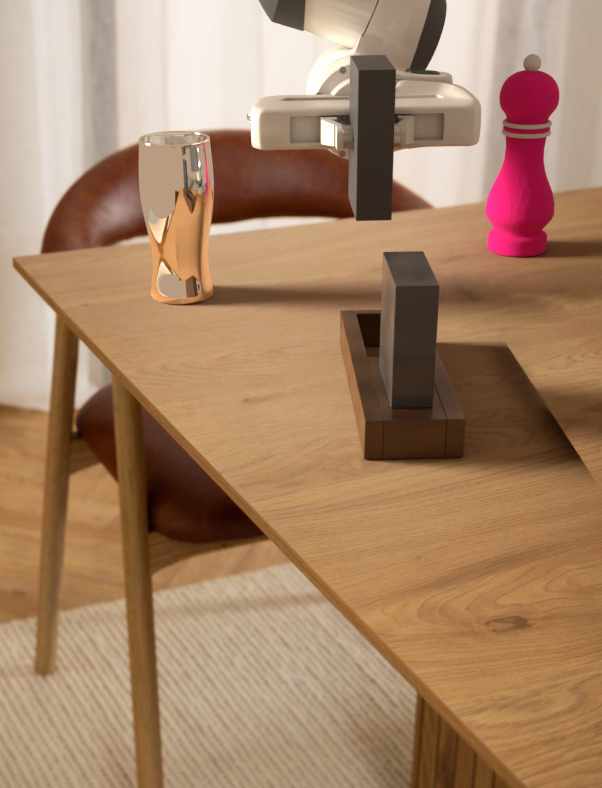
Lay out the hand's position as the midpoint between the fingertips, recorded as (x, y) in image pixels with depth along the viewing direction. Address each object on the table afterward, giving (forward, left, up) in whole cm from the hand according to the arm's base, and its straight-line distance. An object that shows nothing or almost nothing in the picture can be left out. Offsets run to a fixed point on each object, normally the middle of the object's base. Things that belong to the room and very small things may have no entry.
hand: (372, 139), depth 98 cm
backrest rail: (0, +14, -17) cm, 22 cm away
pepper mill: (-19, -24, -17) cm, 35 cm away
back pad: (0, -1, -6) cm, 6 cm away
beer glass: (+17, -12, -17) cm, 27 cm away
